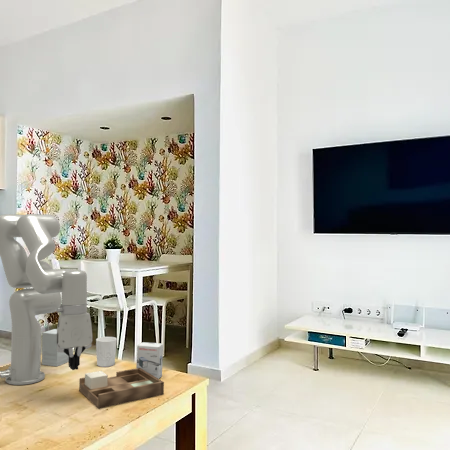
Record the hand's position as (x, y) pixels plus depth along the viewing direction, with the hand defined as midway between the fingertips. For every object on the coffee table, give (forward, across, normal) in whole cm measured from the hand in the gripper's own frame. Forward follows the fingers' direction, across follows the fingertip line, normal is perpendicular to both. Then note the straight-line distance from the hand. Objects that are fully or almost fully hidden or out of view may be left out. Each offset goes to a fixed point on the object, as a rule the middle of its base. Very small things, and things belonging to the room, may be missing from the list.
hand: (74, 368), depth 141 cm
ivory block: (+7, +7, +1) cm, 10 cm away
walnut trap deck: (+10, +14, -3) cm, 17 cm away
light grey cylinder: (+9, +22, +29) cm, 37 cm away
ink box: (+10, +29, +6) cm, 31 cm away
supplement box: (+8, +6, +41) cm, 42 cm away
